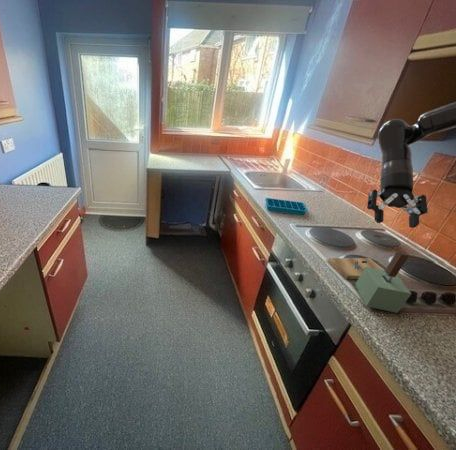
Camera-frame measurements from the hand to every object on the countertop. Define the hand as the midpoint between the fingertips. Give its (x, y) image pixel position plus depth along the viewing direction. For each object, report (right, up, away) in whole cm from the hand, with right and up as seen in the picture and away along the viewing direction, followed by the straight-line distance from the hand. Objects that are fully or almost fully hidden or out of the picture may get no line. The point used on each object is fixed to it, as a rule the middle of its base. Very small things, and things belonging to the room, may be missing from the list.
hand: (396, 224), depth 76 cm
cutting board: (+1, -17, +16) cm, 23 cm away
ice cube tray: (-3, +8, +60) cm, 61 cm away
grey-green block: (-3, -24, +4) cm, 24 cm away
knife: (-3, -23, +3) cm, 23 cm away
